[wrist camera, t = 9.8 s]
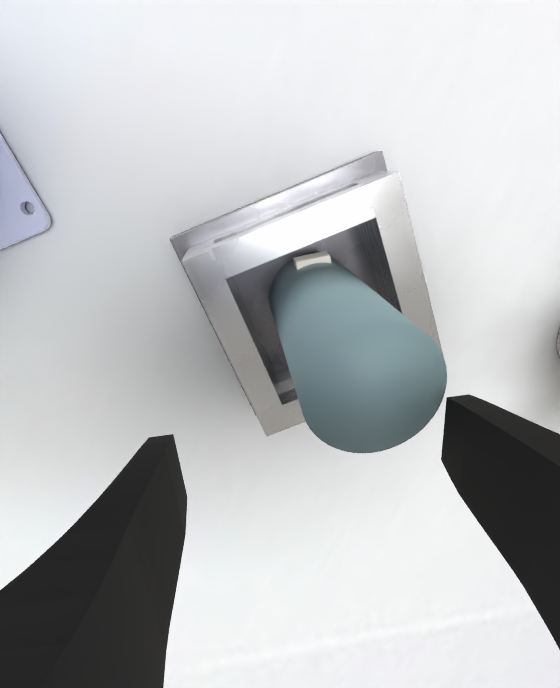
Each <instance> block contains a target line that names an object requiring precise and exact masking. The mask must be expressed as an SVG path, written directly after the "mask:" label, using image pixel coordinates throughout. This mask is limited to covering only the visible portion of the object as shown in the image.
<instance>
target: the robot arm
mask: <svg viewBox="0 0 560 688" xmlns="http://www.w3.org/2000/svg"><path fill="white" fill-rule="evenodd" d="M26 202H30V203H31V204H32V205H33V207H34V213H33V214H30V213H28V212H27V211H26V210H25V207H24V206H25V203H26ZM50 225H51V219H50V216H49V214H48V212H47V210H46V209H45V207H44V205H43V204H42V202H41V200H40V199H39V197H38V195H37V194H36V192H35V190H34V189H33V187H32V185H31V184H30V182H29V180H28V179H27V177H26V175H25V174H24V172H23V170H22V169H21V167H20V165H19V164H18V162H17V160H16V159H15V157H14V155H13V154H12V152H11V150H10V148H9V147H8V145H7V143H6V142H5V140H4V138H3V137H2V135H1V133H0V250H1V249H3V248H6V247H8V246H10V245H13V244H15V243H17V242H20V241H22V240H25V239H27V238H29V237H32V236H34V235H36V234H39V233H41V232H43V231H45V230H47V229H48V228H49V227H50ZM441 460H442V462H443V464H444V466H445V468H446V470H447V472H448V474H449V476H450V478H451V480H452V482H453V484H454V486H455V487H456V489H457V491H458V493H459V494H460V496H461V497H462V499H463V500H464V502H465V503H466V505H467V506H468V508H469V509H470V510H471V512H472V513H473V515H474V516H475V518H476V519H477V521H478V522H479V523H480V525H481V526H482V528H483V529H484V530H485V532H486V533H487V535H488V536H489V537H490V539H491V540H492V542H493V543H494V544H495V546H496V547H497V549H498V550H499V551H500V553H501V554H502V556H503V557H504V558H505V560H506V561H507V563H508V564H509V566H510V567H511V568H512V570H513V571H514V573H515V574H516V576H517V577H518V579H519V580H520V582H521V583H522V585H523V586H524V588H525V590H526V591H527V593H528V595H529V596H530V598H531V600H532V602H533V603H534V605H535V607H536V608H537V610H538V612H539V614H540V615H541V617H542V619H543V621H544V622H545V624H546V626H547V627H548V629H549V631H550V633H551V634H552V636H553V638H554V640H555V642H556V644H557V645H558V647H559V649H560V434H558V433H555V432H553V431H551V430H549V429H546V428H544V427H542V426H540V425H537V424H535V423H533V422H531V421H529V420H526V419H524V418H522V417H520V416H518V415H515V414H513V413H511V412H509V411H507V410H505V409H502V408H500V407H498V406H496V405H493V404H491V403H489V402H487V401H484V400H482V399H479V398H477V397H474V396H471V395H462V396H455V397H447V401H446V412H445V423H444V435H443V446H442V457H441ZM186 512H187V494H186V489H185V485H184V480H183V476H182V472H181V467H180V463H179V458H178V454H177V449H176V445H175V440H174V436H173V434H172V435H164V436H157V437H150V438H148V439H147V441H146V442H145V443H144V444H143V445H142V446H141V448H140V449H139V450H138V451H137V452H136V454H135V455H134V456H133V457H132V459H131V460H130V461H129V462H128V464H127V465H126V466H125V467H124V468H123V470H122V471H121V472H120V473H119V475H118V476H117V477H116V478H115V479H114V481H113V482H112V483H111V484H110V485H109V486H108V488H107V489H106V490H105V491H104V492H103V493H102V495H101V496H100V497H99V498H98V499H97V500H96V501H95V502H94V503H93V504H92V506H91V507H90V508H89V509H88V510H87V511H86V512H85V513H84V514H83V515H82V516H81V517H80V518H79V519H78V521H77V522H76V523H75V524H74V525H73V526H72V527H71V528H70V529H69V530H68V531H67V532H66V533H65V534H64V535H63V536H62V537H61V538H60V539H59V540H58V541H57V542H56V543H54V544H53V545H52V546H51V547H50V548H49V549H48V550H47V551H46V552H45V553H44V554H42V555H41V556H40V557H39V558H38V559H37V560H36V561H35V562H34V563H33V564H31V565H30V566H29V567H28V568H27V569H26V570H25V571H23V572H22V573H21V574H20V575H19V576H17V577H16V578H15V579H14V580H12V581H11V582H10V583H9V584H8V585H6V586H5V587H4V588H3V589H1V590H0V688H163V683H164V671H165V659H166V649H167V641H168V634H169V627H170V621H171V615H172V609H173V604H174V598H175V592H176V586H177V581H178V575H179V569H180V563H181V557H182V551H183V546H184V539H185V530H186Z"/></svg>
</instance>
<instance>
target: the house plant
mask: <svg viewBox="0 0 560 688" xmlns="http://www.w3.org/2000/svg"><path fill="white" fill-rule="evenodd" d="M557 351H558V354H559V357H560V330H559V334H558V338H557Z"/></svg>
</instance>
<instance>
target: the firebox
mask: <svg viewBox="0 0 560 688" xmlns="http://www.w3.org/2000/svg"><path fill="white" fill-rule="evenodd" d="M170 241H171V243H172V245H173V247H174V249H175V251H176V253H177V255H178V257H179V259H180V261H181V263H182V266H183V268H184V270H185V272H186V274H187V276H188V278H189V280H190V282H191V284H192V286H193V288H194V290H195V292H196V294H197V296H198V298H199V300H200V302H201V304H202V306H203V308H204V310H205V312H206V315H207V317H208V319H209V321H210V323H211V325H212V327H213V329H214V331H215V333H216V335H217V337H218V339H219V341H220V343H221V345H222V347H223V349H224V351H225V353H226V355H227V357H228V359H229V362H230V364H231V366H232V368H233V370H234V372H235V374H236V376H237V378H238V380H239V382H240V384H241V386H242V388H243V390H244V392H245V394H246V396H247V398H248V400H249V402H250V404H251V406H252V409H253V411H254V413H255V415H257V417H258V419H259V421H260V423H261V426H262V428H263V430H264V432H265V434H266V436H269V435H272V434H274V433H277V432H279V431H282V430H284V429H287V428H290V427H292V426H295V425H297V424H300V423H302V422H305V418H304V416H303V413H302V410H301V407H300V403H299V400H298V397H297V393H296V390H295V387H294V384H293V380H292V377H291V374H290V370H289V367H288V364H287V361H286V357H285V354H284V351H283V347H282V344H281V341H280V337H279V334H278V331H277V328H276V324H275V321H274V318H273V314H272V311H271V307H270V302H269V294H270V288H271V285H272V282H273V280H274V278H275V276H276V274H277V273H278V272H279V270H280V269H281V268H282V267H283V266H284V265H285V264H286V263H288V262H289V261H291V260H292V259H293V258H294V257H299V256H302V255H306V254H314V253H318V252H323V251H326V252H327V253H328V254H329V255H330V257H332V258H334V259H336V260H337V261H339V262H340V263H341V264H342V265H343V266H345V267H346V268H347V269H348V270H350V271H351V272H352V273H353V274H354V275H356V276H357V277H358V278H359V279H360V280H362V281H363V282H364V283H365V284H367V285H368V286H369V287H370V288H371V289H373V290H374V291H375V292H376V293H377V294H379V295H380V296H381V297H382V298H383V299H385V300H386V301H387V302H388V303H390V304H391V305H392V306H393V307H394V308H396V309H397V310H398V311H399V312H400V313H402V314H403V315H404V316H405V317H406V318H408V319H409V320H410V321H411V322H413V323H414V324H415V325H416V326H417V327H419V328H420V329H421V330H422V331H423V332H425V333H426V334H427V335H428V336H429V337H431V338H432V340H433V341H434V342H435V343H436V344H437V346H438V347H439V349H440V351H441V353H442V349H441V345H440V341H439V337H438V332H437V328H436V324H435V320H434V316H433V312H432V307H431V303H430V299H429V295H428V291H427V287H426V283H425V278H424V274H423V270H422V266H421V262H420V258H419V254H418V249H417V245H416V241H415V237H414V233H413V229H412V224H411V220H410V216H409V212H408V208H407V204H406V200H405V195H404V191H403V187H402V183H401V179H400V175H399V172H398V171H387V169H386V165H385V161H384V157H383V153H382V151H378V152H374V153H372V154H369V155H367V156H364V157H362V158H360V159H357V160H355V161H352V162H350V163H348V164H345V165H343V166H340V167H338V168H336V169H333V170H331V171H328V172H326V173H324V174H321V175H319V176H316V177H314V178H312V179H309V180H307V181H304V182H302V183H300V184H297V185H295V186H292V187H290V188H288V189H285V190H283V191H281V192H278V193H276V194H273V195H271V196H269V197H266V198H264V199H261V200H259V201H257V202H254V203H252V204H249V205H247V206H245V207H242V208H240V209H237V210H235V211H233V212H230V213H228V214H225V215H223V216H221V217H218V218H216V219H213V220H211V221H209V222H206V223H204V224H201V225H199V226H197V227H194V228H192V229H189V230H187V231H185V232H182V233H180V234H178V235H175V236H173V237H172V238H171V239H170ZM442 355H443V353H442ZM443 358H444V357H443Z"/></svg>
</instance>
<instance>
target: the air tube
mask: <svg viewBox="0 0 560 688" xmlns="http://www.w3.org/2000/svg"><path fill="white" fill-rule="evenodd" d="M269 302H270V307H271V311H272V314H273V318H274V321H275V324H276V328H277V331H278V334H279V337H280V341H281V344H282V347H283V351H284V354H285V357H286V361H287V364H288V367H289V370H290V374H291V377H292V380H293V384H294V387H295V390H296V393H297V397H298V400H299V403H300V407H301V410H302V413H303V416H304V418H305V421H306V423H307V424H308V426H309V428H310V429H311V430H312V431H313V433H314V434H315V435H316V436H317V437H318V438H320V439H321V440H322V441H323V442H325V443H327V444H328V445H330V446H332V447H334V448H337V449H340V450H343V451H347V452H353V453H372V452H378V451H383V450H386V449H390V448H392V447H395V446H397V445H399V444H401V443H403V442H405V441H407V440H408V439H410V438H412V437H413V436H414V435H416V434H417V433H418V432H419V431H421V430H422V429H423V428H424V427H425V426H426V425H427V424H428V422H429V421H430V420H431V419H432V417H433V416H434V415H435V413H436V411H437V410H438V408H439V406H440V404H441V402H442V399H443V396H444V393H445V389H446V382H447V372H446V365H445V361H444V358H443V355H442V353H441V351H440V349H439V347H438V346H437V344H436V343H435V342H434V341H433V340H432V338H431V337H429V336H428V335H427V334H426V333H425V332H423V331H422V330H421V329H420V328H419V327H417V326H416V325H415V324H414V323H413V322H411V321H410V320H409V319H408V318H406V317H405V316H404V315H403V314H402V313H400V312H399V311H398V310H397V309H396V308H394V307H393V306H392V305H391V304H390V303H388V302H387V301H386V300H385V299H383V298H382V297H381V296H380V295H379V294H377V293H376V292H375V291H374V290H373V289H371V288H370V287H369V286H368V285H367V284H365V283H364V282H363V281H362V280H360V279H359V278H358V277H357V276H356V275H354V274H353V273H352V272H351V271H350V270H348V269H347V268H346V267H345V266H343V265H342V264H341V263H340V262H339V261H337V260H336V259H334V258H332V257H330V255H329V254H328V253H327V252H326V251H323V252H318V253H314V254H306V255H302V256H299V257H294V258H293V259H292V260H291V261H289V262H288V263H286V264H285V265H284V266H283V267H282V268H281V269H280V270H279V272H278V273H277V274H276V276H275V278H274V280H273V282H272V285H271V288H270V294H269Z"/></svg>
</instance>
